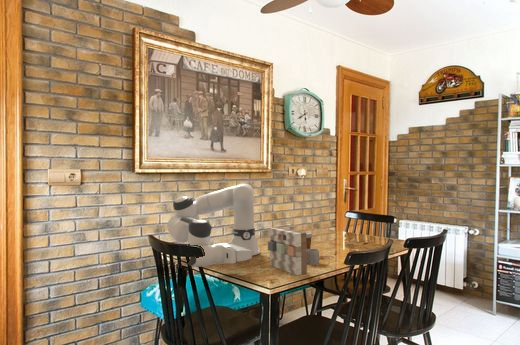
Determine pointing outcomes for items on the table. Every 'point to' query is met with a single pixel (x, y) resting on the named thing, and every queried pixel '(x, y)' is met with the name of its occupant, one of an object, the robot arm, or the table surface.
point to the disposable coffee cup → (308, 239)
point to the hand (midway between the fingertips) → (250, 249)
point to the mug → (312, 256)
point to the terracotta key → (291, 250)
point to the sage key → (280, 248)
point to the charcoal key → (272, 246)
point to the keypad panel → (286, 261)
